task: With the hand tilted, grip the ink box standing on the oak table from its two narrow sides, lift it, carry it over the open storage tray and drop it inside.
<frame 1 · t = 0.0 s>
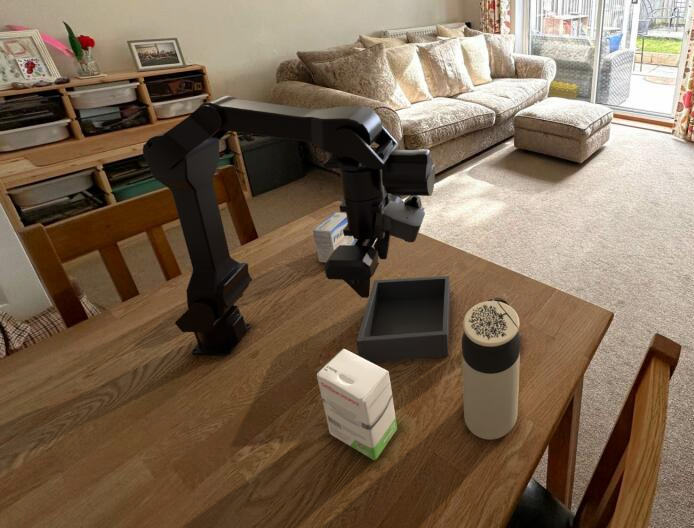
hand: (375, 276, 66), 15 cm above the table, tool pointing down, fingers open, 9 cm apart
compass: (505, 342, 72), on the table
open storage tray: (409, 326, 75), on the table
travel mug: (490, 414, 60), on the table
ink box: (363, 432, 57), on the table
medicine box: (337, 253, 94), on the table
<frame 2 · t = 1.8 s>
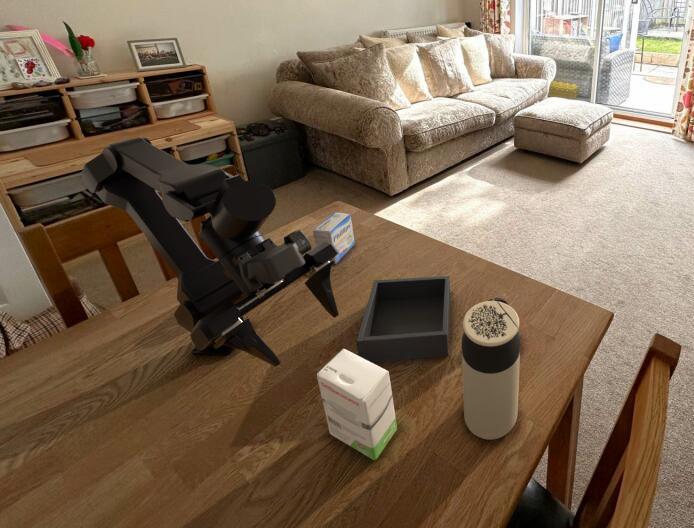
hand: (309, 338, 55), 13 cm above the table, tool tilted 45°, fingers open, 9 cm apart
nothing on the table moved.
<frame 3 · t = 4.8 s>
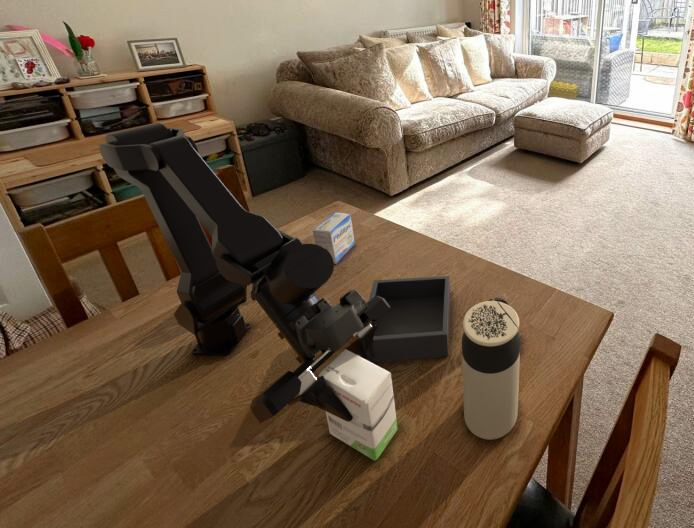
hand: (366, 402, 54), 7 cm above the table, tool tilted 45°, fingers closed on ink box, 5 cm apart
ink box: (363, 432, 57), on the table, touching gripper
everything else where it was.
when the fingers open (8 cm above the table, at t = 12.5 s): ink box stays where it is, resting on open storage tray.
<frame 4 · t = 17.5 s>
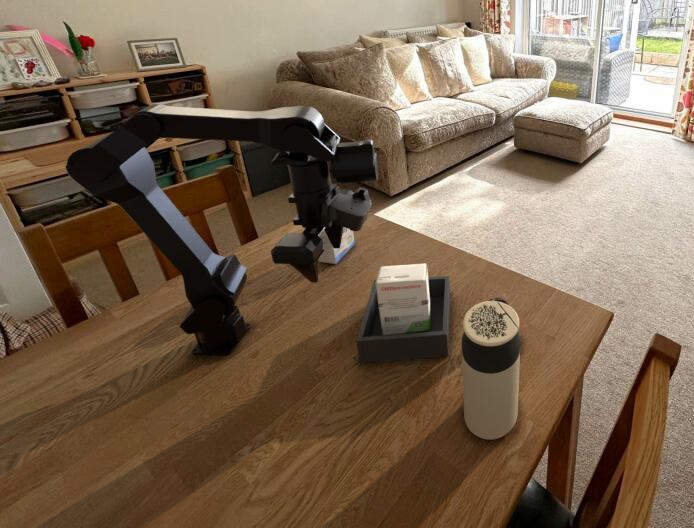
hand: (326, 263, 71), 13 cm above the table, tool pointing down, fingers open, 9 cm apart
ink box: (407, 324, 75), resting on open storage tray
everything else where it was.
at the end: ink box inside the target area in the open storage tray (0.4 cm from its centre), point 0.3 cm above the open storage tray's base; the gripper is holding nothing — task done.
